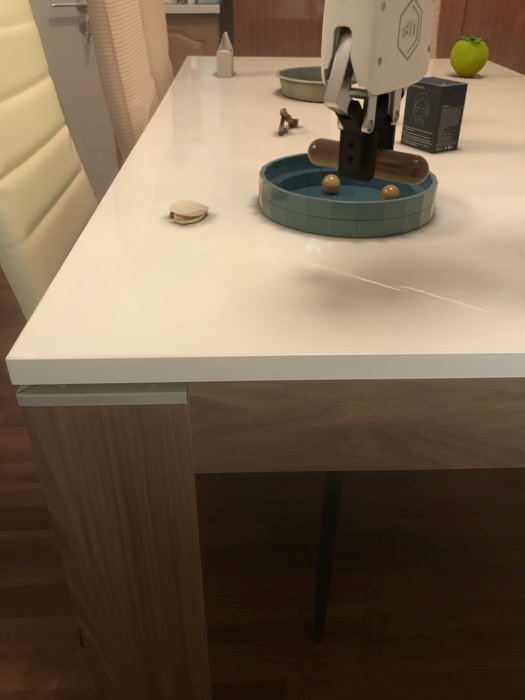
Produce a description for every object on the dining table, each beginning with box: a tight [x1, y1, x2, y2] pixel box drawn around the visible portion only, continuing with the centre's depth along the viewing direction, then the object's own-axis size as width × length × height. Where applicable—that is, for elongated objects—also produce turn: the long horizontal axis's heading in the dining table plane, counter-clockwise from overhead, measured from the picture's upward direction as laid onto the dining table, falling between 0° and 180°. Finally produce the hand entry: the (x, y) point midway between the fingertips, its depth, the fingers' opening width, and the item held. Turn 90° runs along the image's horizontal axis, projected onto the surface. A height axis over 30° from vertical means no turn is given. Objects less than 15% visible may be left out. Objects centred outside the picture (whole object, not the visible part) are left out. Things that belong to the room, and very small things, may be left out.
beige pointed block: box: [216, 31, 235, 78], centre depth 166 cm, size 4×7×10 cm, turn 177°
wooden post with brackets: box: [278, 107, 300, 136], centre depth 113 cm, size 2×8×4 cm, turn 161°
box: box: [399, 76, 469, 155], centre depth 103 cm, size 8×6×11 cm
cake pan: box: [274, 65, 327, 103], centre depth 146 cm, size 25×25×4 cm
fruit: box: [449, 34, 490, 78], centre depth 170 cm, size 9×9×10 cm
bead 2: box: [380, 185, 400, 201], centre depth 79 cm, size 2×2×2 cm
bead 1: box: [322, 174, 340, 194], centre depth 83 cm, size 2×2×2 cm
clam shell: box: [168, 199, 210, 225], centre depth 75 cm, size 4×5×2 cm
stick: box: [307, 137, 430, 185], centre depth 55 cm, size 11×2×2 cm, turn 53°
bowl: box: [258, 152, 439, 238], centre depth 79 cm, size 21×21×4 cm
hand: (364, 172), depth 55 cm, fingers closed on stick, 2 cm apart
